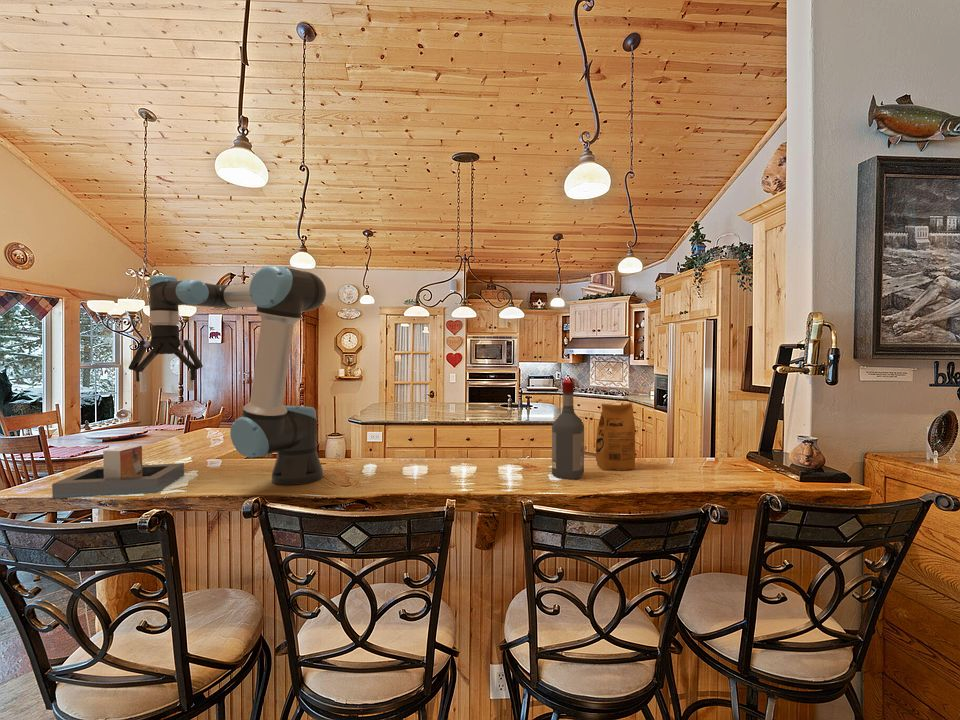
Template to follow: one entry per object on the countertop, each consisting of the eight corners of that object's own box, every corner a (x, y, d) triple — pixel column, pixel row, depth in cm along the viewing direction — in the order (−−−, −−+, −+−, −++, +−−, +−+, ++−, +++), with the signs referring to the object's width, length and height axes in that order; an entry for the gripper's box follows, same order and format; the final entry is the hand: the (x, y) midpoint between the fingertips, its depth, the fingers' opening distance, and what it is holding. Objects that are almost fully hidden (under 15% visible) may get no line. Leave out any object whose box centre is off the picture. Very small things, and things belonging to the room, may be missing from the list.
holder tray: (184, 475, 152) (183, 463, 152) (157, 492, 134) (156, 478, 134) (93, 479, 147) (92, 467, 147) (52, 498, 129) (52, 483, 129)
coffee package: (593, 463, 166) (593, 401, 165) (628, 463, 166) (629, 401, 165) (600, 471, 156) (601, 405, 155) (638, 471, 156) (638, 405, 155)
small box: (120, 486, 136) (119, 451, 136) (103, 486, 137) (102, 450, 137) (143, 479, 144) (142, 445, 144) (127, 478, 145) (126, 444, 145)
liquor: (585, 473, 153) (585, 382, 152) (578, 480, 145) (579, 384, 144) (557, 470, 157) (558, 381, 156) (550, 477, 148) (550, 383, 147)
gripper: (212, 325, 156) (214, 388, 156) (126, 325, 150) (129, 391, 151) (204, 324, 148) (206, 390, 149) (113, 324, 143) (116, 393, 143)
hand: (167, 391), depth 150 cm, fingers open, 13 cm apart
